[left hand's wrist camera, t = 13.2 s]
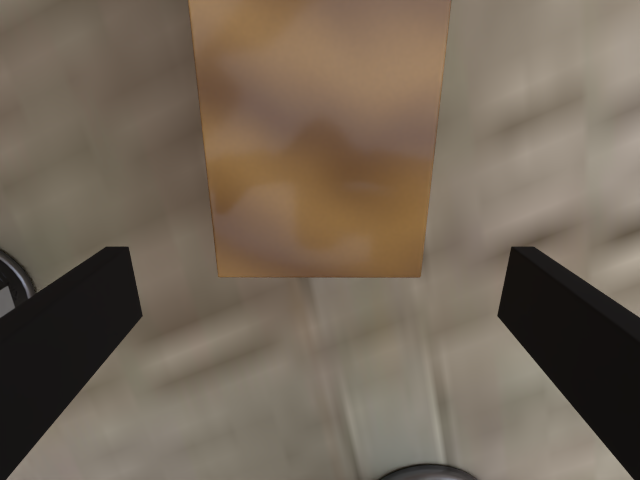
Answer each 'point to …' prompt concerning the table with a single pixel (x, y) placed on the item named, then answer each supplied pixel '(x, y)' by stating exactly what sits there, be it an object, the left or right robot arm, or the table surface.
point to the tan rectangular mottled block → (319, 132)
